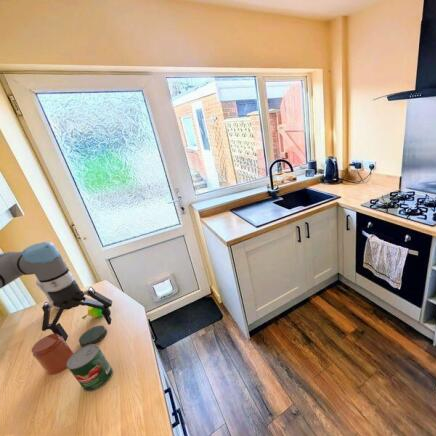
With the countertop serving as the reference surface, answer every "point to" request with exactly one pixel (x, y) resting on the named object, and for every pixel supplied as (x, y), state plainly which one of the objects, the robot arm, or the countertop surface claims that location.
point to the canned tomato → (90, 367)
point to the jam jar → (52, 353)
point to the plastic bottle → (45, 292)
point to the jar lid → (92, 336)
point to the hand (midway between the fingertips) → (88, 330)
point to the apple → (93, 312)
